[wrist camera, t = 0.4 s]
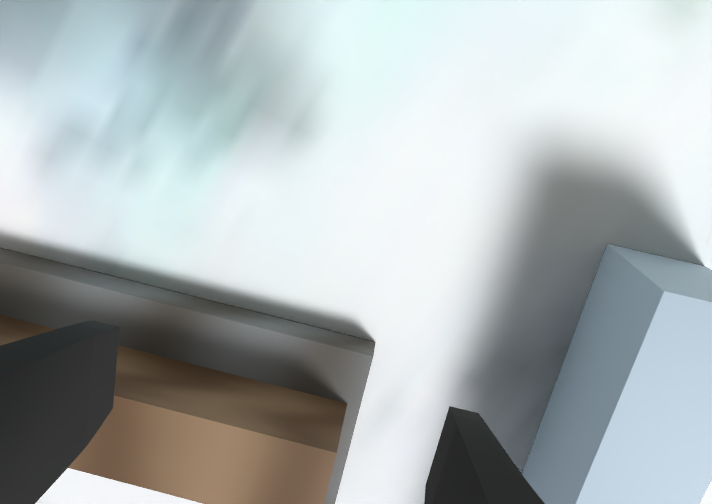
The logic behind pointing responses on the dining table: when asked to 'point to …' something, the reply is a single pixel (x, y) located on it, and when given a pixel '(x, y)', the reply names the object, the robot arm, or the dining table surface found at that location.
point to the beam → (632, 390)
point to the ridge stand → (202, 387)
